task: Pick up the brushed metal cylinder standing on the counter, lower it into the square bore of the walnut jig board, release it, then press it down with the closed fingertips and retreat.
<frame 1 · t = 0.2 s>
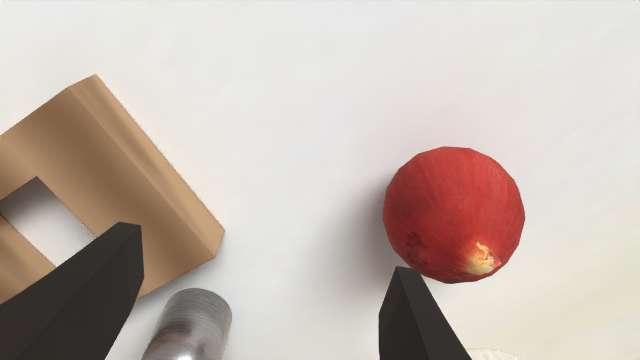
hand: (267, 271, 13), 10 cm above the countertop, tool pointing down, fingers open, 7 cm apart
jig: (66, 220, 24), on the countertop
onion: (430, 176, 23), on the countertop
brushed metal cylinder: (198, 314, 27), on the countertop
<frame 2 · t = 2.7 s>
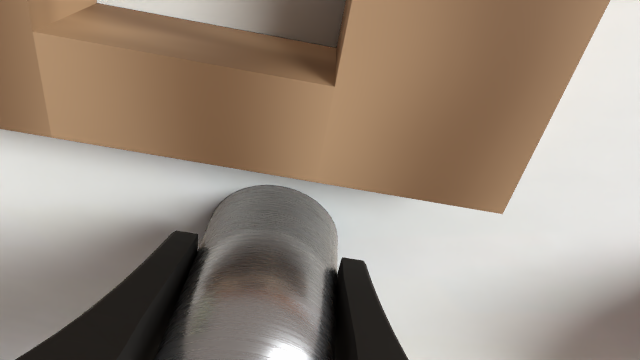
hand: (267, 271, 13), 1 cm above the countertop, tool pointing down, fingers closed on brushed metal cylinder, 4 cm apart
brushed metal cylinder: (273, 238, 14), on the countertop, touching gripper
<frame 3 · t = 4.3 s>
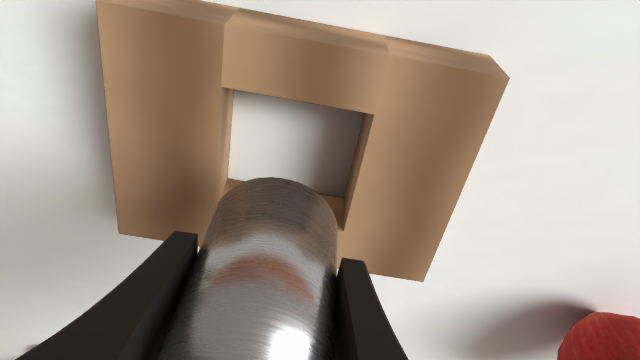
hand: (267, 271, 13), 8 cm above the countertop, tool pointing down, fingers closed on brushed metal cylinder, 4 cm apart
jig: (294, 136, 20), on the countertop
onion: (588, 313, 25), on the countertop
brushed metal cylinder: (275, 229, 14), point 6 cm above the countertop, touching gripper
when the fingers open (3 cm above the countertop, at t = 6.0 s): brushed metal cylinder drops 1 cm, resting in jig.
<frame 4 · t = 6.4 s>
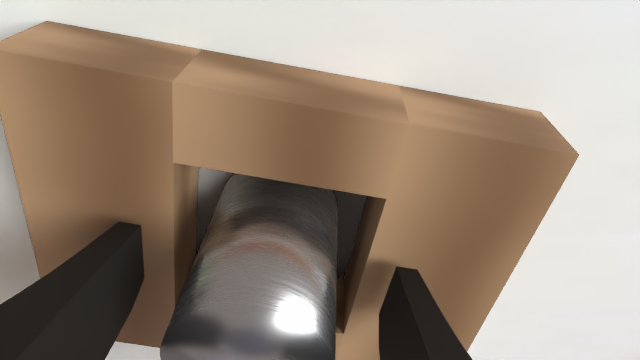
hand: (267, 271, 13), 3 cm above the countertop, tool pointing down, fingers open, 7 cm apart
jig: (279, 208, 15), on the countertop
brushed metal cylinder: (279, 209, 15), resting in jig
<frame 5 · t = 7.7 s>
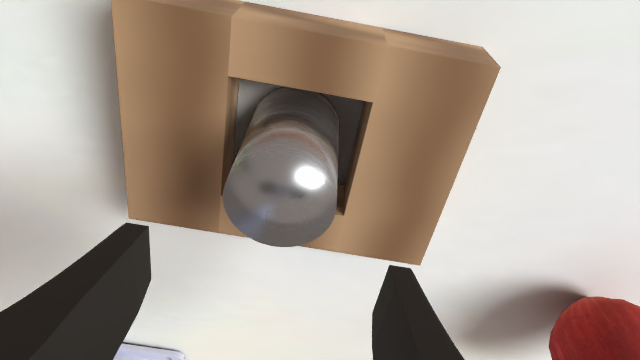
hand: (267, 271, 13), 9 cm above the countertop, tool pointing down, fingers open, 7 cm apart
jig: (296, 125, 20), on the countertop
onion: (580, 299, 26), on the countertop
brushed metal cylinder: (296, 126, 21), resting in jig
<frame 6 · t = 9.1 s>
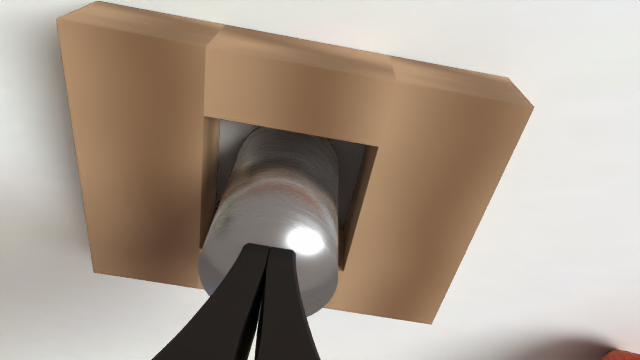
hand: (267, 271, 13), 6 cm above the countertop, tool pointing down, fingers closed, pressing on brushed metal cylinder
jig: (288, 165, 18), on the countertop
onion: (609, 350, 23), on the countertop
brushed metal cylinder: (287, 166, 18), resting in jig, touching gripper
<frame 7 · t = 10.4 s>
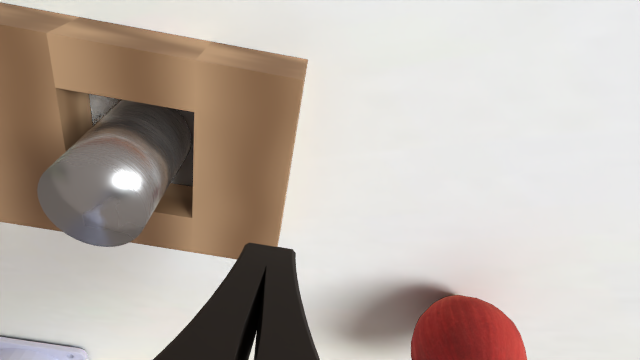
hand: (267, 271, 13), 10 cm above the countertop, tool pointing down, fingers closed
jig: (150, 132, 22), on the countertop
onion: (451, 297, 27), on the countertop
brushed metal cylinder: (150, 133, 22), resting in jig
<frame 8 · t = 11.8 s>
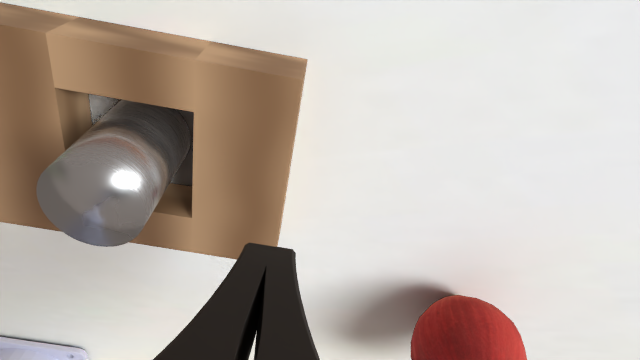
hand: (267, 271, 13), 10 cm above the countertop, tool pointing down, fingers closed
jig: (149, 132, 22), on the countertop
onion: (452, 297, 27), on the countertop
brushed metal cylinder: (149, 133, 22), resting in jig
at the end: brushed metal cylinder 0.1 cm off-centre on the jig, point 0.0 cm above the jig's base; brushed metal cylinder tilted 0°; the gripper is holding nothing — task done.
